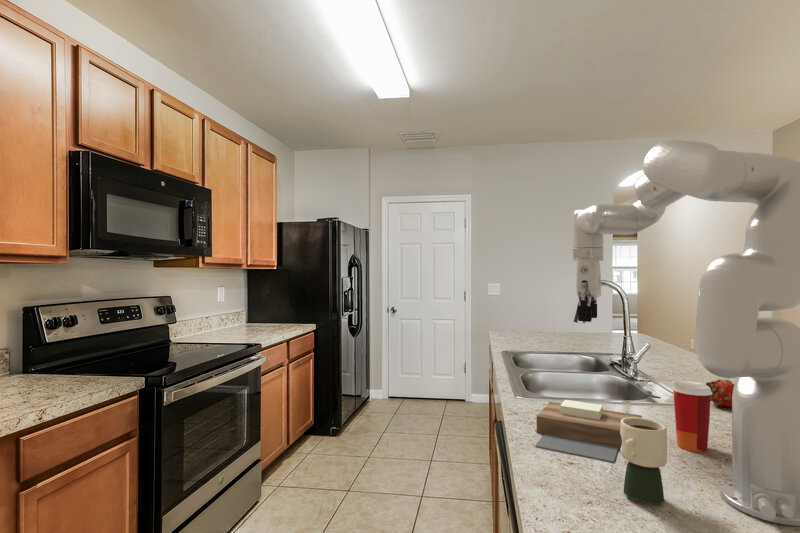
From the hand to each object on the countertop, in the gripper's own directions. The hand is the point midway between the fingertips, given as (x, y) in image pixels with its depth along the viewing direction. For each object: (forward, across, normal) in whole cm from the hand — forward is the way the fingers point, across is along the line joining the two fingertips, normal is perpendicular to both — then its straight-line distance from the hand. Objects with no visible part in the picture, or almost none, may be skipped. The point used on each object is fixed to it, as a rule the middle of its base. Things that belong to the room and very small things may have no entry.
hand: (587, 319), depth 119 cm
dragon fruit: (+27, +33, -32) cm, 53 cm away
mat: (+26, -22, -1) cm, 34 cm away
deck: (+27, -10, -2) cm, 28 cm away
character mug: (+27, -39, -15) cm, 50 cm away
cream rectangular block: (+23, -9, 0) cm, 24 cm away
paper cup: (+27, -8, -23) cm, 36 cm away
